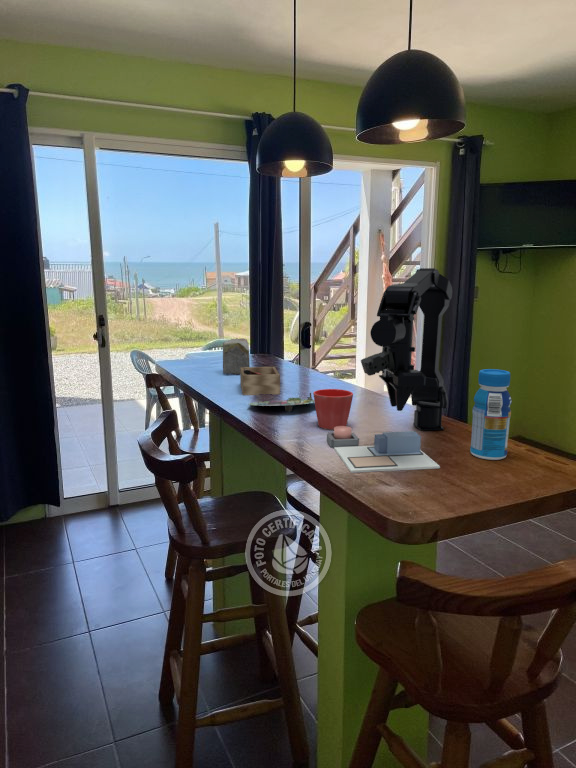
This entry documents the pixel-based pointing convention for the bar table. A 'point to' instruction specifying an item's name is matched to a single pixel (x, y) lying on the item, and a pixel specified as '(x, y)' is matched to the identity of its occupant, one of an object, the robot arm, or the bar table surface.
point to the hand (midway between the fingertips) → (396, 408)
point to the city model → (285, 402)
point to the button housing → (342, 441)
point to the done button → (342, 432)
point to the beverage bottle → (491, 415)
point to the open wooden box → (260, 381)
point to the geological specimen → (235, 355)
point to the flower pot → (332, 407)
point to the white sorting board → (382, 460)
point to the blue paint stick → (397, 442)
